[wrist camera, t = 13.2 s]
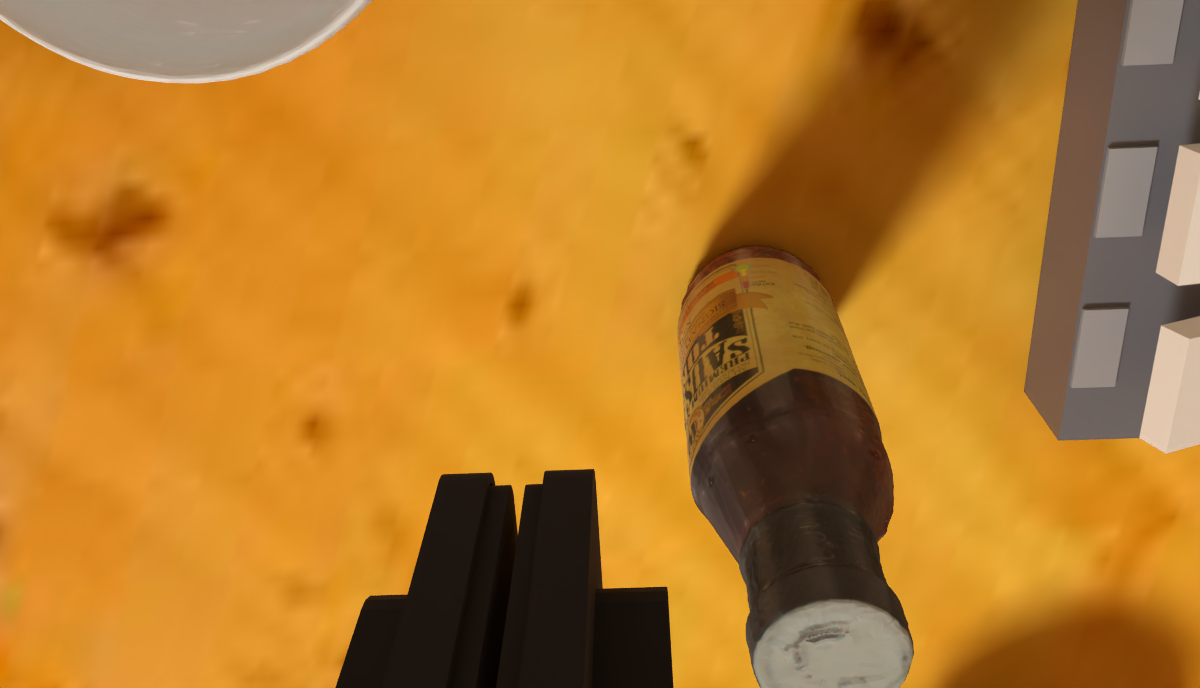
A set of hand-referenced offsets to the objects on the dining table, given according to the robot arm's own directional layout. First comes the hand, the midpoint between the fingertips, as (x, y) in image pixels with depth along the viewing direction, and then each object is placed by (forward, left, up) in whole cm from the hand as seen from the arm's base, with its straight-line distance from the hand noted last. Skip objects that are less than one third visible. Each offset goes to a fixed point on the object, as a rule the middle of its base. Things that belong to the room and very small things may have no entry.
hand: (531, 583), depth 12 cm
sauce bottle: (+11, +6, -31) cm, 34 cm away
